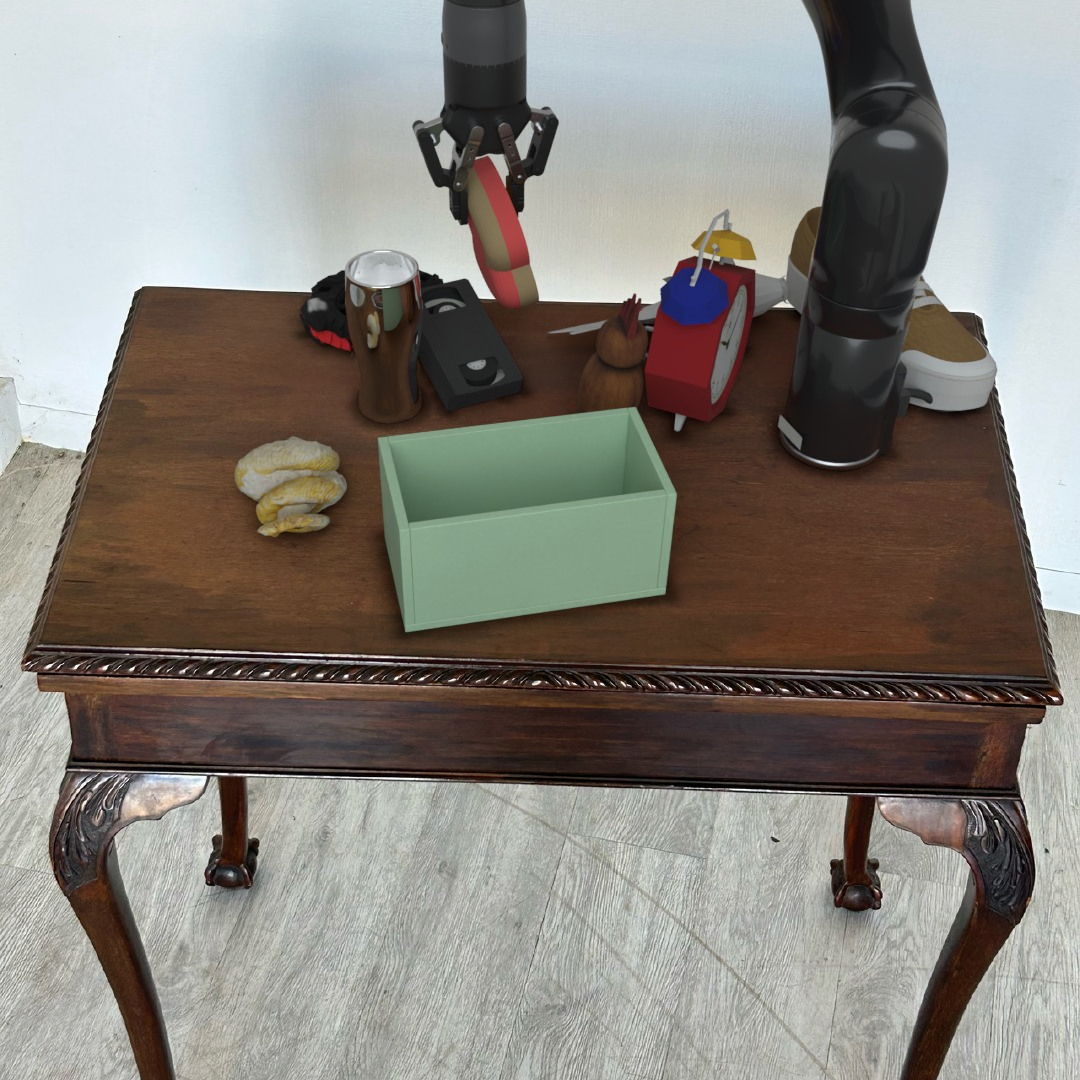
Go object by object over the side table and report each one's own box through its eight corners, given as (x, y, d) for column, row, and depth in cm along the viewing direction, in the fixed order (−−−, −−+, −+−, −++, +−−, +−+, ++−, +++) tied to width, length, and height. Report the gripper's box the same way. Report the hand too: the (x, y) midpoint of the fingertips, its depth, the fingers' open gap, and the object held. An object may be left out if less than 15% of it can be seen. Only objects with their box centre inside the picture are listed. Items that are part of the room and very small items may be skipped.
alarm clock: (701, 454, 127) (725, 264, 113) (613, 430, 129) (627, 241, 116) (747, 371, 137) (775, 187, 123) (665, 350, 139) (684, 168, 126)
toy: (361, 260, 151) (359, 236, 149) (486, 298, 146) (486, 274, 144) (271, 335, 140) (268, 310, 138) (404, 379, 135) (402, 353, 133)
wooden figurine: (626, 453, 126) (662, 314, 117) (566, 437, 127) (597, 297, 117) (636, 413, 132) (672, 277, 122) (578, 399, 132) (609, 261, 122)
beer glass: (409, 433, 128) (402, 294, 118) (341, 417, 130) (329, 279, 120) (437, 392, 133) (433, 256, 123) (371, 377, 135) (362, 242, 125)
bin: (627, 505, 121) (635, 406, 114) (665, 594, 113) (677, 493, 106) (384, 537, 117) (377, 437, 110) (405, 632, 109) (399, 530, 102)
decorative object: (510, 340, 134) (474, 266, 145) (546, 327, 134) (508, 255, 145) (478, 219, 125) (443, 150, 136) (517, 206, 125) (479, 138, 136)
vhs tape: (522, 392, 134) (524, 378, 132) (447, 411, 131) (448, 398, 129) (465, 291, 140) (467, 277, 139) (393, 308, 138) (394, 294, 136)
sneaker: (927, 432, 129) (956, 340, 123) (755, 288, 148) (772, 202, 142) (1007, 411, 133) (1039, 321, 127) (829, 273, 152) (849, 189, 146)
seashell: (358, 401, 122) (314, 501, 110) (371, 457, 125) (330, 559, 114) (252, 404, 124) (198, 503, 112) (268, 460, 127) (218, 560, 116)
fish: (799, 238, 139) (749, 241, 148) (571, 282, 131) (532, 282, 140) (810, 337, 142) (760, 334, 151) (587, 386, 133) (548, 380, 142)
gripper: (414, 69, 118) (423, 246, 129) (573, 53, 121) (568, 227, 132) (397, 36, 123) (407, 209, 135) (549, 22, 126) (547, 192, 138)
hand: (487, 217), depth 133 cm, fingers closed on decorative object, 4 cm apart
